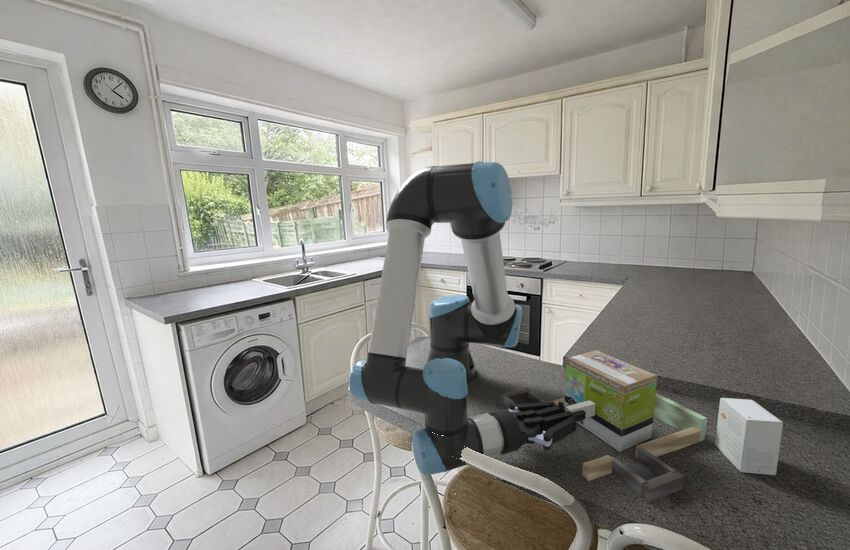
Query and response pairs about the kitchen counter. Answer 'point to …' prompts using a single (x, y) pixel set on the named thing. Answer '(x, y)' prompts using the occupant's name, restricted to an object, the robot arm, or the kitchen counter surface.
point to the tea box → (612, 397)
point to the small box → (748, 436)
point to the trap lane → (641, 448)
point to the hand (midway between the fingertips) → (592, 407)
